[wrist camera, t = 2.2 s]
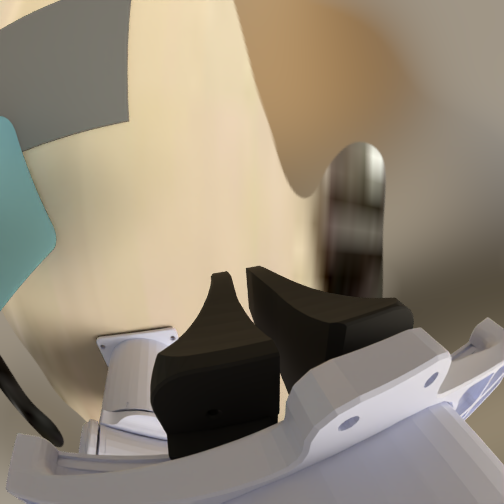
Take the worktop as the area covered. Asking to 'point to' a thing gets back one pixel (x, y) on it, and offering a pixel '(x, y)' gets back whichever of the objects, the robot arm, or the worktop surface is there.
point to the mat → (65, 69)
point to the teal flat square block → (19, 217)
